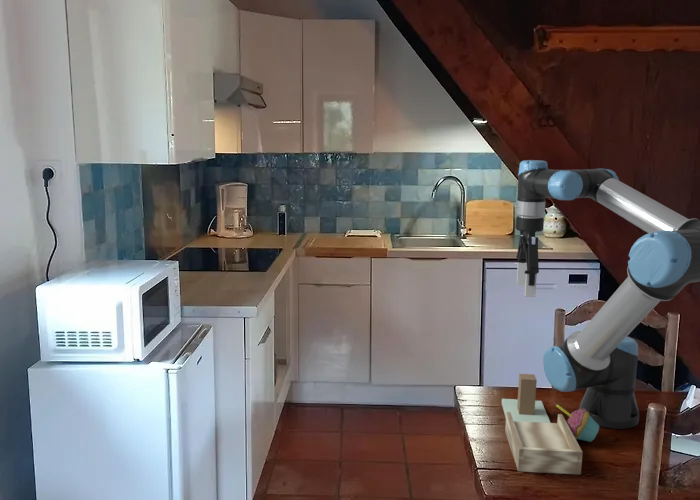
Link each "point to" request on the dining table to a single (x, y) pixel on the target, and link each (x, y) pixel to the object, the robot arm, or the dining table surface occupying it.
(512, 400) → the cover plate
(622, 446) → the dining table surface
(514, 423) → the birch box
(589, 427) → the cupcake
